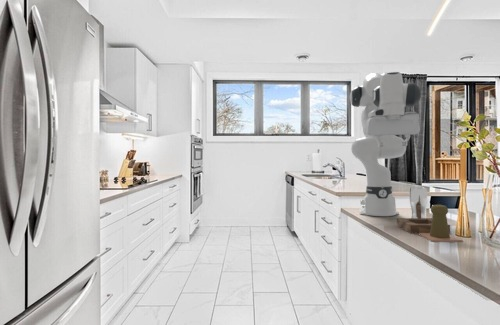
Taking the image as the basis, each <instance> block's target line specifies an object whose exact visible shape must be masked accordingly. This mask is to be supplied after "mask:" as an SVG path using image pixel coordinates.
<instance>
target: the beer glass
mask: <svg viewBox="0 0 500 325" xmlns="http://www.w3.org/2000/svg"><path fill="white" fill-rule="evenodd" d="M408 196H409V204H410V209H411V218H427V217H426V210H427V204H428V191H427V187H422V186H421V187H419V186H415V187H414V186H411V187H409V195H408Z"/></svg>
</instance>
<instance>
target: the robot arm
mask: <svg viewBox="0 0 500 325" xmlns="http://www.w3.org/2000/svg"><path fill="white" fill-rule="evenodd" d="M403 78H404V77H403V75H402V73H401V72H399V71H391V72H385V73H382V74H381V73H378V72H377V73H375V72H373V73H372V72H371V73H369V74H368V75H366V76H365V77H364V79H363V83H362V85H359V84H358V85H357V86H356V87H354V88H353V89H352V90H351V91H350V93H349V102H350V105H352V107H354V108H355V107H356V108H357V107H358V108H359V107H364V108H363V109H362V111H361V114H360V115H361V127H362V133H363V135H364V136H365V137H361V138H355V140H353V142H352V144H351V153H352V155H353V156H354V157H355V158H356V159H358V160H359V161H360V162H361V163H362V165H363V166H364V169H365V172H366V173H365V174H366V183H367V185H366V189H365V193H366V194H365V195H364V197H363V199H362V200H360V202H359V203H360V206H362V207H360V208H358V210H359V211H358V212H359V215H366V216H374V217H392V216H396V215H400V211H397V206H396V205H397V204H396V198H395V196H393V187H392V179H391V178H392V177H391V176H392V174H391V170H390V169H389V168H388V167H386V166H385V165H383V164H379V161H378V160H379V159H380V160H382V159H385V160H386V159H396V158H402V157H403V156H404V155H405V154H406V151H407V146H408V142H409V140H410V139H411V135H418V134H420V132H421V126H420V122H419V121H420V114H419V113H418V112H416V111H415V110H414V111H413V110H411V111H405V107H406V108H413V107H414V106H416V105H417V104H418V103H419V101H420V100H421V94H422V92H421V88H420V87H419V85H417V83H415V82H407V83H405V82H404V80H403ZM401 135H402V136H403V135H404V138H405V139H403V137H399V136H401Z"/></svg>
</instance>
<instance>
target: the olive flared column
mask: <svg viewBox="0 0 500 325" xmlns="http://www.w3.org/2000/svg"><path fill="white" fill-rule="evenodd" d="M430 212H431V214H432V217H431V218H432V223H431V231H430V236H431V237H435V238H450V235H449V234H450V233H449V229H448V225H449V224H448V218H447V215H448V212H449V209H448V207H447V206H446V205H443V204H433V205H431V207H430Z"/></svg>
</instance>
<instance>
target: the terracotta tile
mask: <svg viewBox="0 0 500 325" xmlns="http://www.w3.org/2000/svg"><path fill="white" fill-rule="evenodd" d="M418 235H419V236H420V237H423V238H424V239H425V240H428V241H430V242H432V243H433V242H434V243H435V242H444V243H447V242H449V243H450V242H456V243H457V242H458V243H462V242H464V239H462V238H459V237H458V236H456V235H454V234H453V235H452V234H451V233H449V235H450V238H435V237H431V236H430V233H418Z"/></svg>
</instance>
